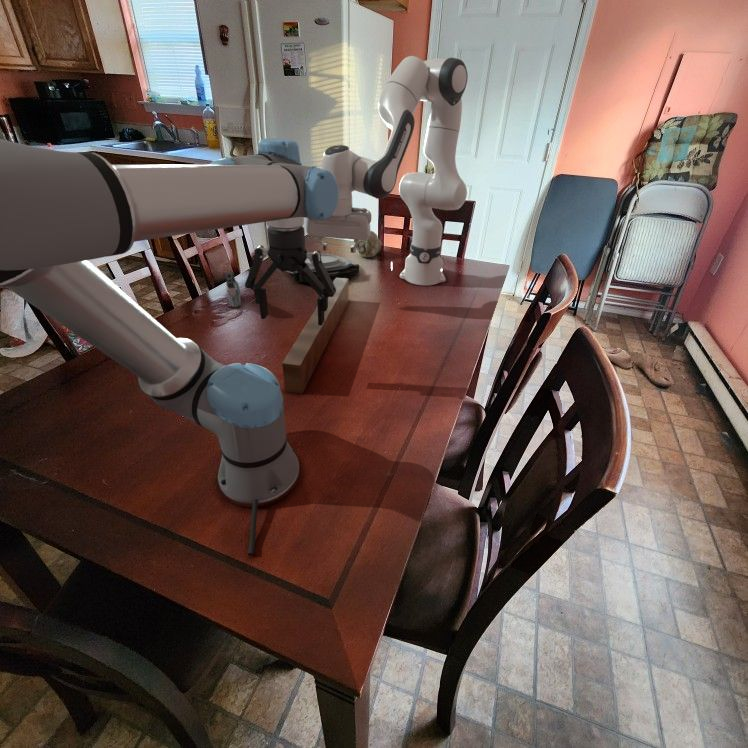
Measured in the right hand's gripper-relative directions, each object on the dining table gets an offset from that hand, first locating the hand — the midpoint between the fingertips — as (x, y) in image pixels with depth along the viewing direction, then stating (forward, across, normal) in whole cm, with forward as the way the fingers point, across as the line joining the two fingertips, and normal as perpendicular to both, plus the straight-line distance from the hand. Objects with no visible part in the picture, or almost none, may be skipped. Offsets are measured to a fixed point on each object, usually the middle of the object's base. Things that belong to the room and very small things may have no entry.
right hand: (339, 251), depth 134 cm
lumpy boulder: (+20, -1, -55) cm, 59 cm away
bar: (+19, 0, +24) cm, 30 cm away
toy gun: (+19, +35, +8) cm, 41 cm away
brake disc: (+20, +15, -30) cm, 39 cm away
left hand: (0, 0, +47) cm, 47 cm away
